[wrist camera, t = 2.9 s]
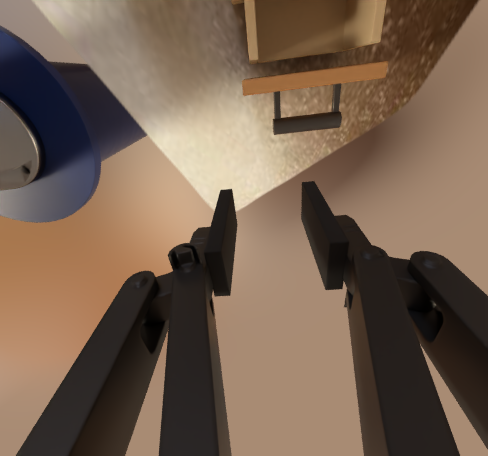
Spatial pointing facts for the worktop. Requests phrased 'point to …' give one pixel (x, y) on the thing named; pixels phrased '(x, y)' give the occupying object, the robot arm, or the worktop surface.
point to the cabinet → (237, 1)
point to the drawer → (311, 49)
